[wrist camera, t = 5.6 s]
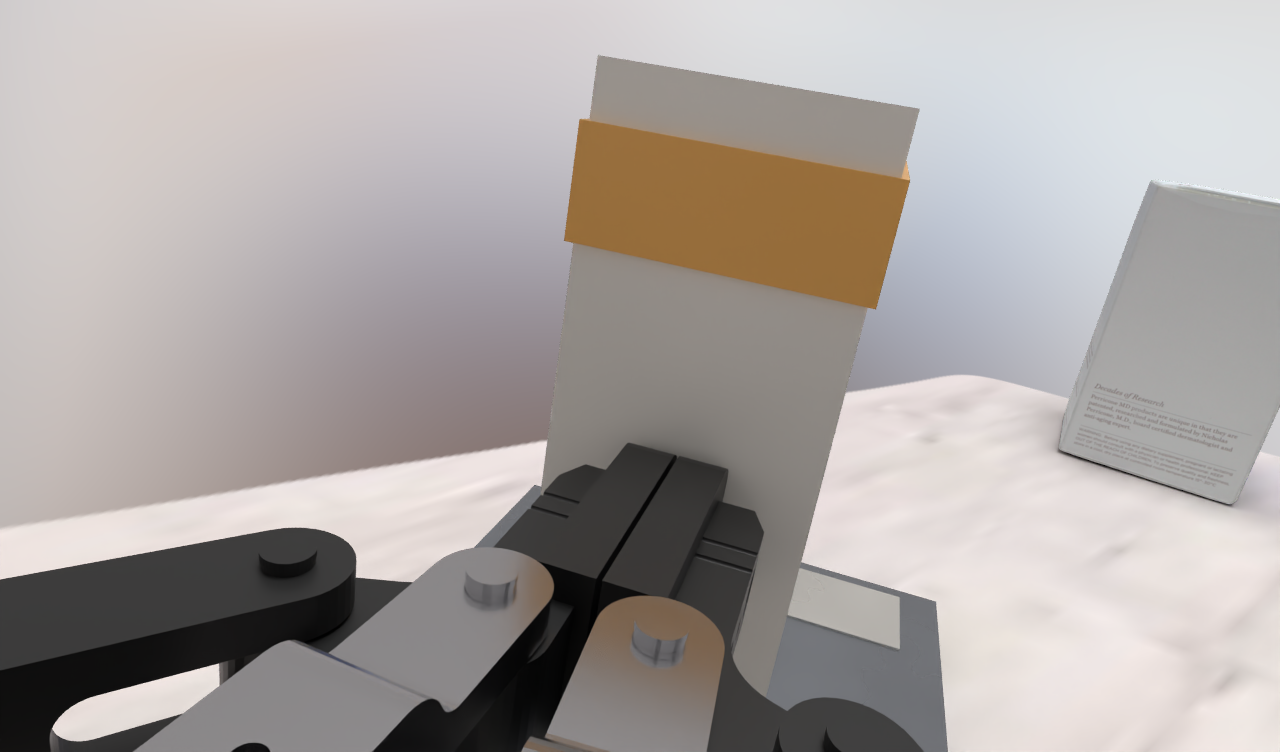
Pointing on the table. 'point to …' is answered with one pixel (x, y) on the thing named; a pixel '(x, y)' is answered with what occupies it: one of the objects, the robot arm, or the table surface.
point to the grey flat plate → (847, 646)
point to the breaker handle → (724, 291)
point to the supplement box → (1186, 344)
